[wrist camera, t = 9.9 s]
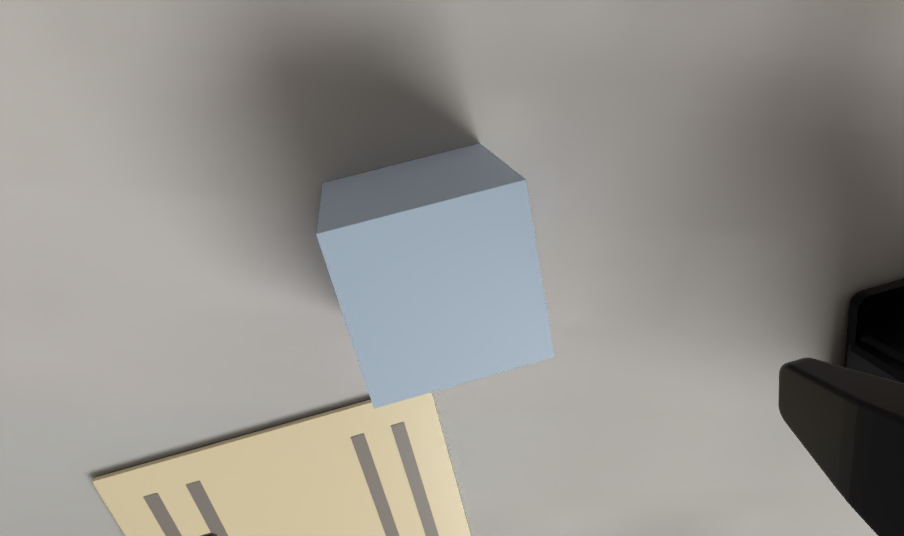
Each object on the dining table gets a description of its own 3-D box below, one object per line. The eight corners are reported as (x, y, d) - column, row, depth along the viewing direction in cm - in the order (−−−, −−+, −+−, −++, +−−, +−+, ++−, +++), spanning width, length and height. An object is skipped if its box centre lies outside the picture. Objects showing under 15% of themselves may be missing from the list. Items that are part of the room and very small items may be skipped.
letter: (428, 382, 21) (429, 386, 21) (476, 554, 24) (477, 558, 24) (94, 477, 20) (91, 482, 20) (194, 641, 23) (193, 646, 23)
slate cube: (479, 142, 18) (526, 179, 13) (505, 283, 20) (554, 356, 15) (322, 182, 18) (315, 234, 13) (366, 321, 20) (374, 408, 15)
